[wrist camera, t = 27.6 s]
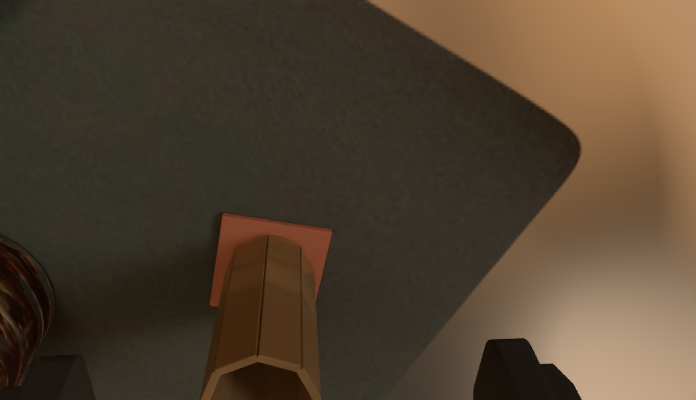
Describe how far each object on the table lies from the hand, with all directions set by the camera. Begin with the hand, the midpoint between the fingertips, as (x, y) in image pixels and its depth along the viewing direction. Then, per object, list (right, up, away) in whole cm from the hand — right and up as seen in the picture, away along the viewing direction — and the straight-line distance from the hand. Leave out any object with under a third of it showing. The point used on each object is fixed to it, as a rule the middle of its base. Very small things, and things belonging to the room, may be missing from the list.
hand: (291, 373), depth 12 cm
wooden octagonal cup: (-5, -2, +31) cm, 32 cm away
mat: (-5, -2, +32) cm, 32 cm away
